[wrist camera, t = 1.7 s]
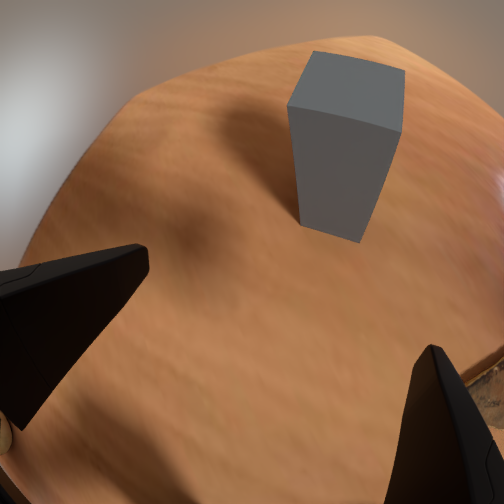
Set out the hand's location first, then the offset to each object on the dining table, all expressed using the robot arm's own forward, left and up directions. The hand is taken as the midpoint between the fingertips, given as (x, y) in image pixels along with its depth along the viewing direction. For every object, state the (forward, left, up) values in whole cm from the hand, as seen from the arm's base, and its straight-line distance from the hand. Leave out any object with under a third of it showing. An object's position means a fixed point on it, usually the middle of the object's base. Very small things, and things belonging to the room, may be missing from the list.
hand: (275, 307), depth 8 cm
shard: (+8, -18, -15) cm, 25 cm away
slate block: (+9, +5, -14) cm, 17 cm away
